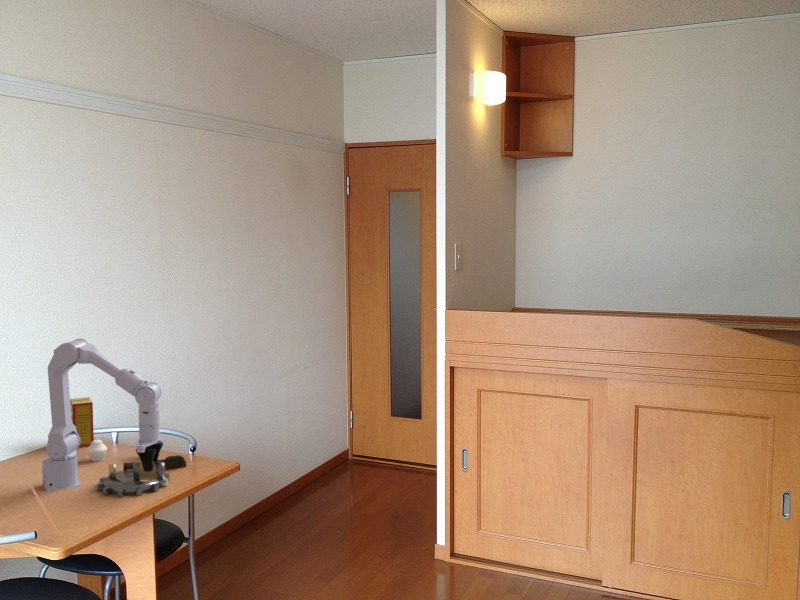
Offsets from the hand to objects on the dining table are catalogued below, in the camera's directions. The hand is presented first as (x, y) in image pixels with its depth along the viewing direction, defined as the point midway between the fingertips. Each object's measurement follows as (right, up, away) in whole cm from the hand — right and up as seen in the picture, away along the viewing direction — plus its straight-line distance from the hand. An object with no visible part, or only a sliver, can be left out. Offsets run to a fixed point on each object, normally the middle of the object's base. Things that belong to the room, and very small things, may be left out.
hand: (150, 469), depth 221 cm
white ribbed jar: (-26, -3, +26) cm, 37 cm away
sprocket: (-5, -5, +1) cm, 7 cm away
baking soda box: (-39, -1, +45) cm, 60 cm away
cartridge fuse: (0, -3, 0) cm, 3 cm away
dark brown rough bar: (-4, -5, +16) cm, 17 cm away
